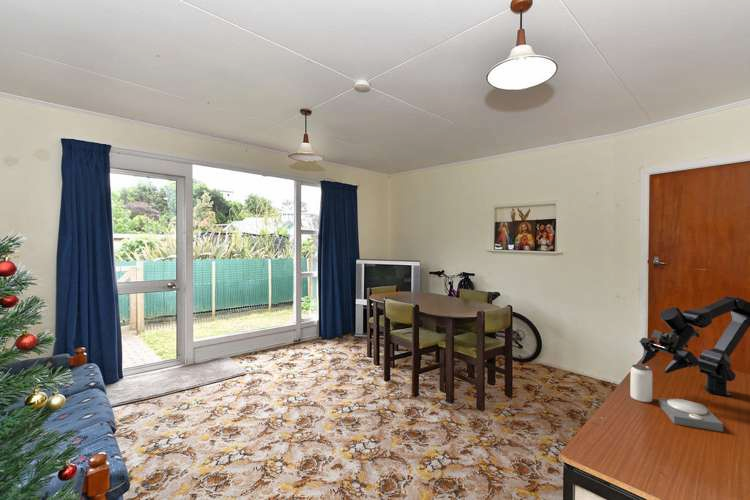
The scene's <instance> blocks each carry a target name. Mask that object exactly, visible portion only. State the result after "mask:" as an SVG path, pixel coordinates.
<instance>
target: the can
mask: <svg viewBox="0 0 750 500" xmlns="http://www.w3.org/2000/svg"><path fill="white" fill-rule="evenodd" d="M629 386H630V392H629V393H630V398H632V399H633V400H635V401H638V402H641V403H651V402H652V401H653V372H652V368H651V367H650V366H646V365H644V364H632V366H631V368H630V384H629Z"/></svg>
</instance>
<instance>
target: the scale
mask: <svg viewBox="0 0 750 500" xmlns="http://www.w3.org/2000/svg"><path fill="white" fill-rule="evenodd" d="M658 405H659V406H660V408H661V409H662V411H663V412H664V413H665V414H666V415H667V417H668V418H669V420H670V421H671V422H672V424H674V425H678V426H686V427H692V428H697V429H702V430H703V429H705V430H709V431H717V432H722V433H723V432H724V423H723V422H722V421H721V420H720V419H718V417H716V416H715V415H714V414H713V413H712V412H711V411H710V410H709V409H708V408H707V407H706V406H705V405H704V404H703V403H698V402H695V401H690V400H687V399H683V398H682V399H681V398H662V397H658Z"/></svg>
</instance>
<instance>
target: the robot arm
mask: <svg viewBox="0 0 750 500" xmlns="http://www.w3.org/2000/svg"><path fill="white" fill-rule="evenodd" d="M728 313H730V316H731V321H730V323H729V324H728V326H727V327H726V329H725V330H724V331H723V333H722V334H721V336H720V338H719V339H718V341H717V342H716V344H715V346H714V347H713V348H712V349H710V350H709V349H704V350H702V352H701V354H700V355H699V356H698V358H697V356H696V355H695V354H694V353H693V352H692V351H689V350H687V349H688V348H689V345H688V343H689V342H690V340H692V338H693V337H695V338H700V333H699V330H698V329H695V328H694V327H696V328H700V329H705V328H707V327H708V326H710V325H711V324H713V320H714V319H716V318H718V317H721V316H722V315H725V314H728ZM659 318H660V319H661V320H662V321H663V322H664V323H665V325H666V326H667V327H668V328H669V329H671V331H670V332H664V331H659V330H658V329H653V330H652V333H651V335H650V338H648V337H642V338H641V339H640V340H639V341H638V342H639V343H640V344H641V346H642V347H643V353H642V357H641V365H646V364H647V363H648V362H649V361H650V360H652V359H654V357H656V356H657V354H658V353H659V352H661V353H665V354H668V355H671V356H673V357H672V358H673V359H672V360H671V361H670V362H669V363H668V365H667V366H666V367H665V369H664V371H663V372H664V373H665V374H669V373H672V372H675V371H678V370H681V369H686V368H693V367H694V368H697V366H698V368H699V373H701V374H705V375H706V383H705V384H706V385H702V388H703V389H704V390H705V391H707V392H708V393H709V394H711V395H720V396H726V397H727V396H728V397H732V394H731V393H730V392H729V391H728V382H733V381H735V379H736V373H735V372H734V371H733V370H732V368H731V367H732V362H731V359H730V357H731V355H732V354H733V352H734V351H735V349H736V347H737V346H738V344H739V343H740V342H741V340H742V339H743V337H744V335H745V334H746V332H747V330H748V329H749V328H750V301H746V300H745V299H744V298H741V297H736V296H729V295H728V296H724V297H723V298H721V299H719V300H718V301H715V302H712V303H710V304H707V305H704V306H703V307H699V308H689V309H686V310H684V311H681V310H680V308H679V307H677V306H672V307H670V308H667V309H664V310H662V311H660V313H659ZM654 339H655V340H657V341H656V342H657V343H656V342H655V341H654ZM684 348H686V349H684Z"/></svg>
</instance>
